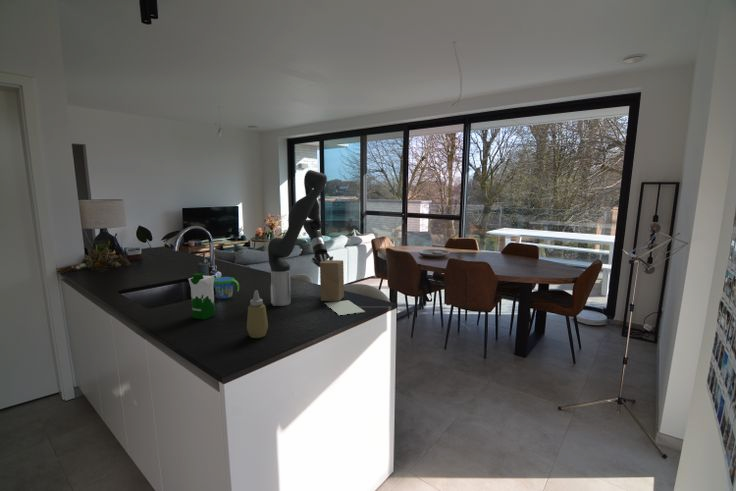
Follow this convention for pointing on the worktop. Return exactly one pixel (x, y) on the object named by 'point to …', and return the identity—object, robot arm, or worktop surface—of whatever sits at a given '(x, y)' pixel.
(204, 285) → the milk carton
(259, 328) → the squeeze bottle
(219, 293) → the snack cup
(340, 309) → the mat
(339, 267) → the wooden block
